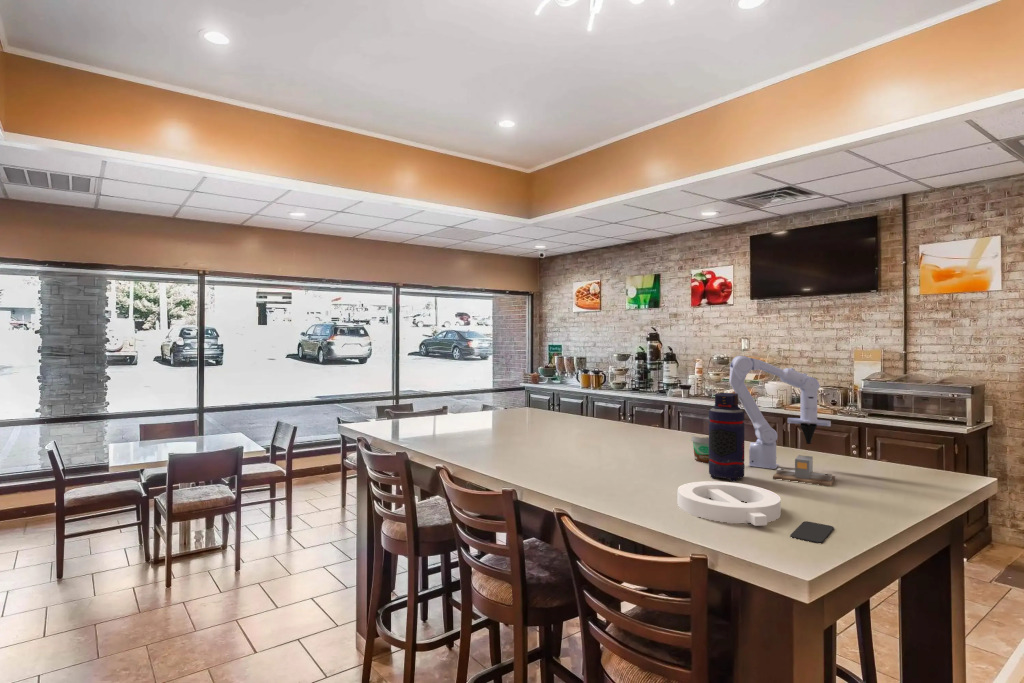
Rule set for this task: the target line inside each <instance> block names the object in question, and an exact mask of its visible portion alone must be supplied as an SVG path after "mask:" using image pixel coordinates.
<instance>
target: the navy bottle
mask: <svg viewBox="0 0 1024 683" xmlns="http://www.w3.org/2000/svg"><path fill="white" fill-rule="evenodd" d="M739 398H740V397H738V394H737V393H735V392H718V393H715V394H714V405H713V406H712V407H711V408H710V409H708V419H709V421H708V437H709V459H710V460H709V463H708V474H709V475H710V478H711V477H712V479H713V478H714V479H716V478H722V479H729V481H730V482H737V481H738V479H742V478H744V477H745V422H744V421H745V410H743V409H744V404H743V405H742V404H741V402H740V400H739ZM740 399H741V398H740ZM741 400H742V399H741ZM742 403H743V401H742Z"/></svg>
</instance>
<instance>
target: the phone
mask: <svg viewBox="0 0 1024 683" xmlns="http://www.w3.org/2000/svg"><path fill="white" fill-rule="evenodd" d="M834 529H835V527H834V526H833V525H829V524H825V523H823V524H822V523H818V522H817V523H816V522H812V521H808V520H807V521H806V520H805V521H803V522H801V523H800V525H798V526H797V527H796V529H794V530H793V532H791V533H790V535H789V538H791V537H792V538H791V539H794V538H796V539H795V540H798V539H800V540H799V541H803V540H804V541H805V542H808V541H809V543H814V544H818V543H821V544H823V543H824V542H825V541H826V540H827V539H828V538H829V536H830V535H831V534H832V532H833V531H834ZM826 538H827V539H826ZM825 539H826V540H825Z"/></svg>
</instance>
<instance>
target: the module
mask: <svg viewBox="0 0 1024 683" xmlns="http://www.w3.org/2000/svg"><path fill="white" fill-rule="evenodd" d="M813 459H814V458H813V456H809V455H803V454H802V455H801V454H798V455H797V456H796V457H795V459H794V470H795V478H802V479H810V474H811V472H814V471H813V470H814V469H813V468H814V467H813V466H814V464H813V463H814V460H813Z"/></svg>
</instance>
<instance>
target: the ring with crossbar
mask: <svg viewBox="0 0 1024 683" xmlns="http://www.w3.org/2000/svg"><path fill="white" fill-rule="evenodd" d="M676 495H677V496H676V497H677V501H676V502H677V504H678V505H677V507H678V506H679V507H680V508H681V509H682V510H684V511H686V512H688V513H690V514H692V515H695V516H698V517H701V518H700V519H702V518H705V519H704V520H706V519H709V520H708V521H711V520H714V521H713V522H716V521H720V522H719V523H723V522H727V523H726V524H733V523H751V524H750V525H753V526H758V527H759V526H768V523H770V522H771V521H772V522H774V521H777V520H778V519H779V518H781V508H782V507H781V501H782V499H781V497H780V495H778V494H777V493H775V492H773V491H771V490H769V489H765V488H763V487H760V486H759V487H758V486H756V485H752V484H746V483H741V482H740V483H738V482H733V481H730V482H729V481H714V480H710V481H705V480H704V481H692V482H688V483H684V484H681V485H680V486H678V488H677V494H676ZM708 498H711V499H708ZM741 501H744V502H741ZM745 502H747V503H745ZM679 507H678V508H679ZM680 508H679V509H680ZM681 509H680V510H681ZM682 510H681V511H682ZM684 511H683V512H684ZM690 514H689V515H690ZM692 515H691V516H692ZM695 516H694V517H695ZM698 517H697V518H698ZM776 519H777V520H776Z"/></svg>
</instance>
